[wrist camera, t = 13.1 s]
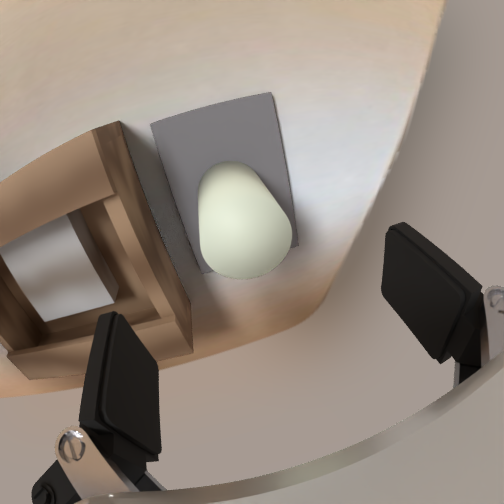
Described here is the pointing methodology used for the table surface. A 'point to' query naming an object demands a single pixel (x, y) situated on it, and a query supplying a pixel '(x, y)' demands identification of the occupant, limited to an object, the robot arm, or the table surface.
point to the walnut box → (83, 259)
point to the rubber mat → (222, 154)
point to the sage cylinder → (240, 222)
